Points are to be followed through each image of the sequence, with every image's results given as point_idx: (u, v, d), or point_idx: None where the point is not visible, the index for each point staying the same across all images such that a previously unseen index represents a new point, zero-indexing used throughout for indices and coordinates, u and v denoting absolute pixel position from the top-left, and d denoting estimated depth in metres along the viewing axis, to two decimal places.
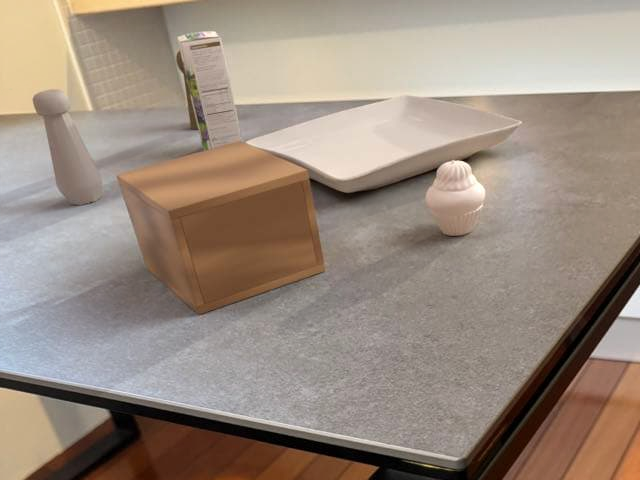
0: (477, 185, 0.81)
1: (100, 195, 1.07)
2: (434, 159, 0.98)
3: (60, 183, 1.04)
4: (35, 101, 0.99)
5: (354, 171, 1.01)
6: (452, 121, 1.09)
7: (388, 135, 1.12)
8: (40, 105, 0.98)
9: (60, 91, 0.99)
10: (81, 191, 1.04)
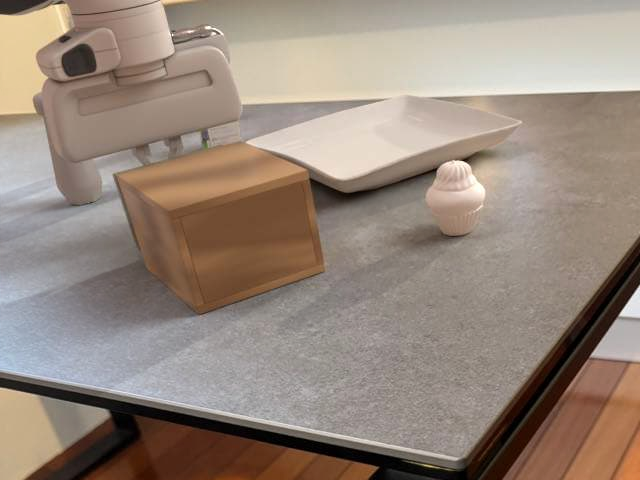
0: (477, 185, 0.81)
1: (100, 195, 1.07)
2: (434, 159, 0.98)
3: (60, 183, 1.04)
4: (35, 101, 0.99)
5: (354, 171, 1.01)
6: (452, 121, 1.09)
7: (388, 135, 1.12)
8: (40, 105, 0.98)
9: None
10: (81, 191, 1.04)
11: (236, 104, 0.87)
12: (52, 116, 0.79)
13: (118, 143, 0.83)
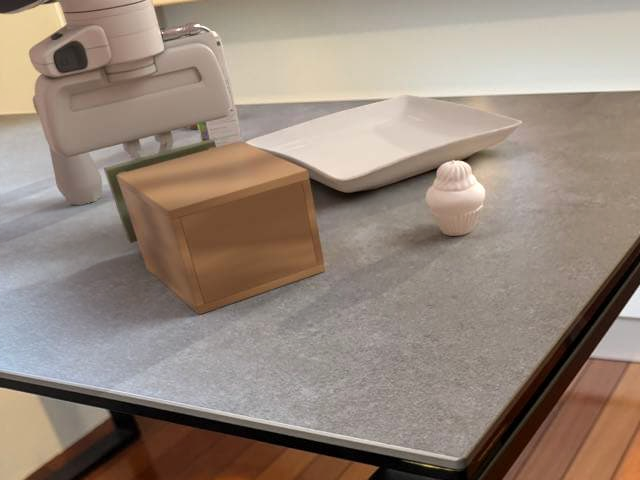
0: (477, 185, 0.81)
1: (100, 195, 1.07)
2: (434, 159, 0.98)
3: (60, 183, 1.04)
4: (35, 101, 0.99)
5: (354, 171, 1.01)
6: (452, 121, 1.09)
7: (388, 135, 1.12)
8: None
9: None
10: (81, 191, 1.04)
11: (225, 100, 0.89)
12: (45, 111, 0.81)
13: (109, 138, 0.85)
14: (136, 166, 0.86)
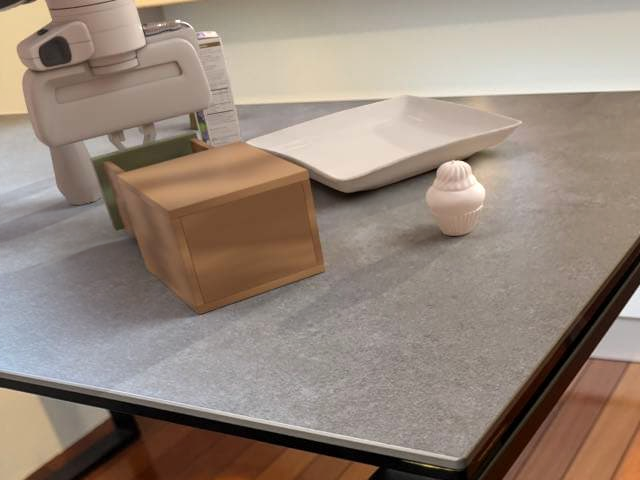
0: (477, 185, 0.81)
1: (100, 195, 1.07)
2: (434, 159, 0.98)
3: (60, 183, 1.04)
4: None
5: (354, 171, 1.01)
6: (452, 121, 1.09)
7: (388, 135, 1.12)
8: None
9: None
10: (81, 191, 1.04)
11: (205, 93, 0.93)
12: (31, 104, 0.85)
13: (94, 130, 0.89)
14: (121, 156, 0.90)
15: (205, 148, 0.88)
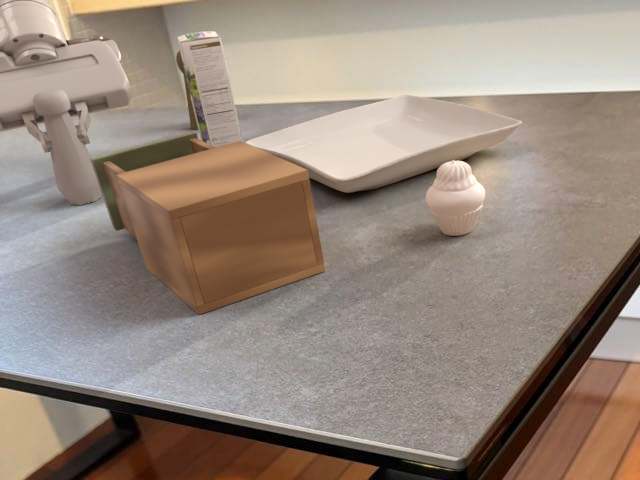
0: (477, 185, 0.81)
1: (100, 195, 1.07)
2: (434, 159, 0.98)
3: (60, 183, 1.04)
4: (35, 101, 0.99)
5: (354, 171, 1.01)
6: (452, 121, 1.09)
7: (388, 135, 1.12)
8: (40, 105, 0.98)
9: (60, 91, 0.99)
10: (81, 190, 1.04)
11: (120, 77, 1.03)
12: None
13: (14, 104, 1.00)
14: (121, 156, 0.90)
15: (205, 148, 0.88)
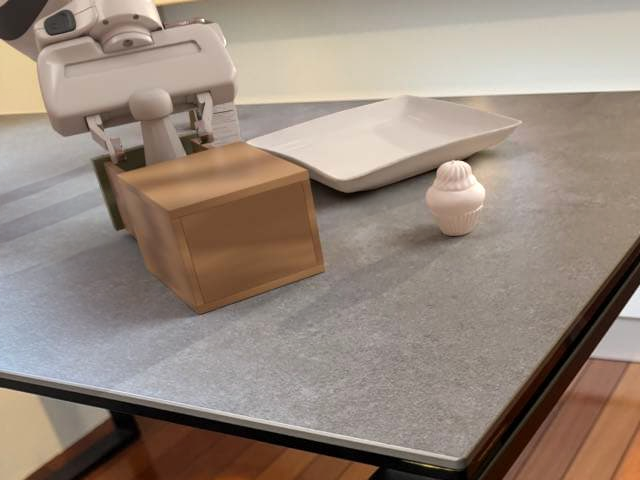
0: (477, 185, 0.81)
1: None
2: (434, 159, 0.98)
3: None
4: (132, 103, 0.82)
5: (354, 171, 1.01)
6: (452, 121, 1.09)
7: (388, 135, 1.12)
8: (139, 108, 0.81)
9: (162, 91, 0.82)
10: None
11: (228, 67, 0.86)
12: None
13: (103, 100, 0.83)
14: None
15: (206, 148, 0.88)
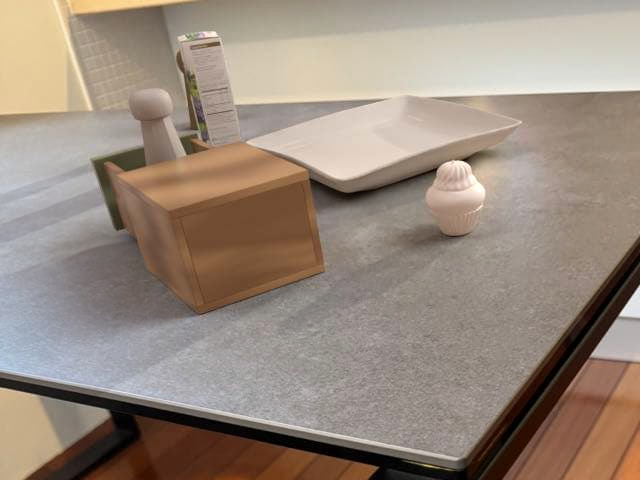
0: (477, 185, 0.81)
1: None
2: (434, 159, 0.98)
3: None
4: (132, 103, 0.82)
5: (354, 171, 1.01)
6: (452, 121, 1.09)
7: (388, 135, 1.12)
8: (139, 108, 0.81)
9: (162, 91, 0.82)
10: None
11: None
12: None
13: None
14: (121, 157, 0.90)
15: (206, 148, 0.88)
